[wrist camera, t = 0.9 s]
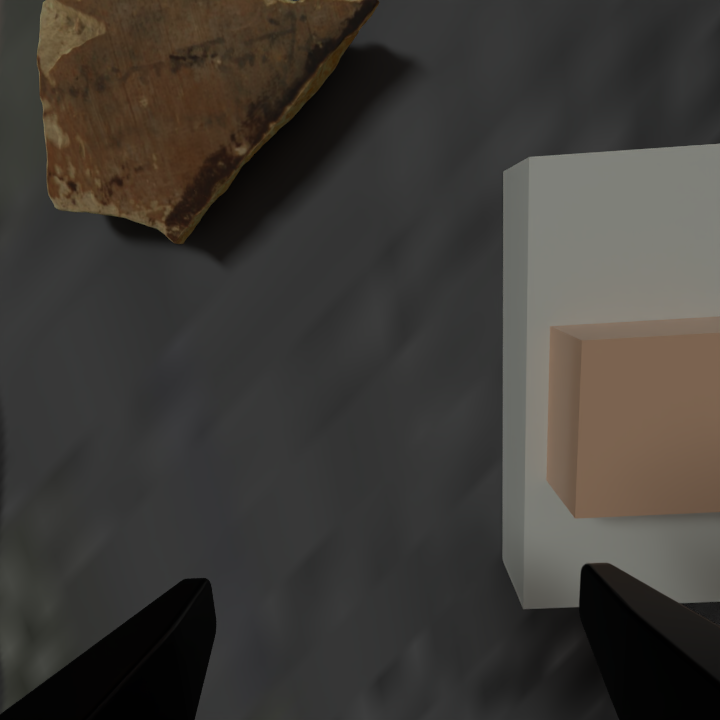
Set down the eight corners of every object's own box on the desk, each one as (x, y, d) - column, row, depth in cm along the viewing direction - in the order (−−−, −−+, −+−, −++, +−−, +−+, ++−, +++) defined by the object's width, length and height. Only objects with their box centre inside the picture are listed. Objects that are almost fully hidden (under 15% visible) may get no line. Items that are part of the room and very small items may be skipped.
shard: (380, 19, 16) (380, -7, 15) (366, 253, 18) (364, 255, 16) (61, 5, 17) (24, -22, 15) (79, 236, 19) (47, 236, 17)
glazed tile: (705, 472, 17) (761, 510, 15) (546, 480, 17) (575, 518, 15) (722, 316, 16) (785, 328, 14) (550, 326, 16) (581, 340, 14)
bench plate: (737, 549, 21) (796, 598, 18) (502, 559, 21) (523, 609, 19) (785, 152, 18) (869, 133, 15) (503, 171, 18) (529, 157, 15)
